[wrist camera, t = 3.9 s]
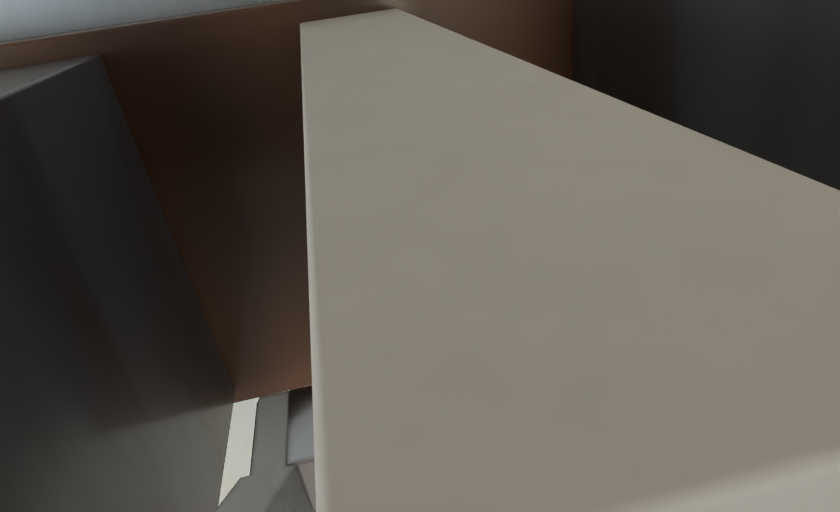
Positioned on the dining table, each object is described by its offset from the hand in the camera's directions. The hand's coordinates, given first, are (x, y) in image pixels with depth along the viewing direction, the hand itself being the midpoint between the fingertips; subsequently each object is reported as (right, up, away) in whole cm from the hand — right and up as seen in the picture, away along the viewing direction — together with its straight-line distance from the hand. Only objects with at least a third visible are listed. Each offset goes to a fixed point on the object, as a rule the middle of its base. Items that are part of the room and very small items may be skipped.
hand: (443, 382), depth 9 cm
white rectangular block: (-2, +4, +7) cm, 8 cm away
